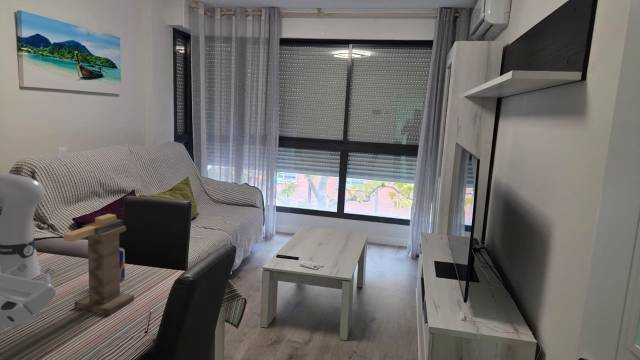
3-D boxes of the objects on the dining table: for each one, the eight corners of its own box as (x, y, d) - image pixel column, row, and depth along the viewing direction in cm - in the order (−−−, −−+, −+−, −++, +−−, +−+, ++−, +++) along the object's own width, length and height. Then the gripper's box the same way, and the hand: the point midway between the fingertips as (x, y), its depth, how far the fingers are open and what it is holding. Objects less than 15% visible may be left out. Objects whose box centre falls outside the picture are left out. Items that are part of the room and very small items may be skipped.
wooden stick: (63, 240, 121) (63, 227, 120) (108, 225, 138) (108, 213, 137) (72, 241, 120) (71, 228, 119) (116, 226, 137) (116, 214, 136)
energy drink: (118, 283, 154) (118, 253, 152) (106, 281, 155) (105, 251, 153) (127, 277, 159) (127, 248, 157) (115, 275, 160) (115, 246, 158)
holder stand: (74, 307, 134) (72, 224, 130) (100, 293, 145) (98, 216, 140) (110, 315, 131) (109, 230, 126) (133, 300, 142) (133, 221, 137)
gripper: (-30, 310, 105) (13, 268, 115) (34, 325, 101) (73, 280, 111) (-45, 295, 101) (1, 253, 112) (21, 310, 97) (63, 265, 107)
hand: (38, 267), depth 111 cm, fingers open, 8 cm apart
